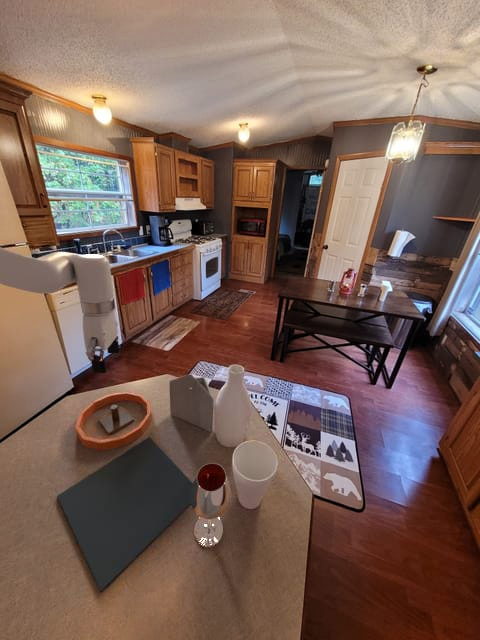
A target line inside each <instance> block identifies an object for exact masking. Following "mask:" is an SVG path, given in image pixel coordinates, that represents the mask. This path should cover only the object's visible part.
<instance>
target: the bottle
mask: <svg viewBox="0 0 480 640" xmlns="http://www.w3.org/2000/svg"><path fill="white" fill-rule="evenodd" d="M244 373H245V368H244V367H243V365H241V364H237V363H236V364H231V365H229V366H228V368H227V381H226V382H225V383H224V384H223V386H222V387H221V388H220V390H219V392H218V394H217V397H216V399H215V401H214V407H213V423H214V424H213V425H214V430H215V431H214V432H215V437H216V440H217V442H218V443H219V444H220V445H222V446H223V447H226V448H235V447H237V446H238V445H240V444H241V443H243V442H245V438H246V435H247V432H248V429H249V425H250V421H251V416H252V401H251V397H250V393H249V390H248V389H247V387H246V386H245V385H246V384H244Z"/></svg>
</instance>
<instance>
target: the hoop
mask: <svg viewBox="0 0 480 640" xmlns="http://www.w3.org/2000/svg"><path fill="white" fill-rule="evenodd" d="M122 401H124V402H125V401H129V402H134V403H139V404H141V405H142V406H143V408H144V409H145V410H146V415H145V417H144V418H143V419H142V421H141V422H140V423H139V425H138V426H136V427H135V428H133V429H132V430H130V431H128V432H127V433H125V434H123V435H122V436H116V437H112V438H106V439H99V438H94V437H90V436H87V435H86V434H85V433H84V431H83V428H84V425H85V421H86V420H87V419H88V418H89V417H90V416H91V415H92V414H93V413H94V412H95V411H96V410H99V409H100V408H103V407H105V406H107V405H109V404H111V403H117V402H122ZM150 423H152V410H151V402H150V401H149V400H148V399H147V398H145V396H143V394H140V393H136V392H131V391H122V392H115V393H108V394H107V395H104V396H102V397H100V398H98V399H95V400H93V401H92V402H91V403H89V404H88V405H87V406H86V407H85V408H84V409H83V410H82V411H81V412H80V413H79V414H78V417H77V420H76V423H75V426H74V428H75V432H76V436H77V438H78V439H79V440H80V442H81V444H82V445H83V447H85V448H89V449H93V450H98V451H102V452H103V451H108V450H113V449H118V448H122V447H125V446H127V445H128V444H130V443H131V442H133V441H135V440H136V439H138V438H139V437H141V436H142V435H143V433H145V431H146V430H147V428H148V427H149V425H150Z"/></svg>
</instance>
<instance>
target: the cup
mask: <svg viewBox="0 0 480 640" xmlns="http://www.w3.org/2000/svg"><path fill="white" fill-rule="evenodd" d="M231 463H232V465H231V466H232V467H231V468H232V473H233V479H234V482H235V485H236V490H237V499H238V502H239V504H240V505H241V506H242V507H243V508H245V509H248V510H253V509H256V508H258V507H259V506H260V505H261V503H262V500H263V497H264V495H265V494H266V492H267V491H268V489H269V488H270V486H271V484H272V482H273V480H274V479H275V477H276V473H277V470H278V467H279V461H278V456H277V454H276V453H275V451H274V449H272V447H271V446H269V444H267V443H265V442H263V441H259V440H254V439H251V440H246V441H243V442H242V443H241V444H240V445H238V446H236V448H234V451H233V453H232V461H231Z"/></svg>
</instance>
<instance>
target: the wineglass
mask: <svg viewBox="0 0 480 640" xmlns="http://www.w3.org/2000/svg"><path fill="white" fill-rule="evenodd" d="M192 483H193V485H192V488H191V492H190V502H191V505H190V507H191V508H192V510H193V512H194V513H195V514H196V516H198V517H199V518H198V519H197V521H196V523H195V525H194V529H193V533H194V537H195V536H196V537H198V538H199V540H200V539H201V540H200V541H199V540H198V539H197V540H198V541H199V542H201V541H202V540H203V539H204V540H203V541H202V542H201V543H202V544H203V543H204V544H203V545H202V544H201V545H202V547H203V546H204V545H205V544H206V543H207V544H206V545H205V547H204V548H212V547H214V546H216V545H217V544H218V543H219V542H220V541H221V539H222V537H223V533H224V525H223V522H222V520H221V519H220V517H221V516H222V515H223V514H224V513H225V512H226V511H227V509H228V508H229V506H230V503H231V499H232V497H231V496H232V491H231V484H230V482H229V478H228V475H227V473H226V470H225V469H224V467H223V466H222V465H221V464H219V463H216V462H209V463H205V464H204V465H202V466H201V467H200V468H199V469H198V471H197V473H196V476H195V478H194V479H193V482H192ZM198 525H199V526H198ZM199 527H200V528H199ZM198 528H199V529H198ZM195 531H197V532H198V533H197V534H196V533H195ZM205 540H206V541H205ZM209 543H211V544H209ZM213 543H214V544H213ZM208 544H209V545H208ZM212 544H213V546H212V547H211V546H210V545H212ZM215 544H216V545H215ZM198 545H200V543H198ZM201 545H200V546H201Z"/></svg>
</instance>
